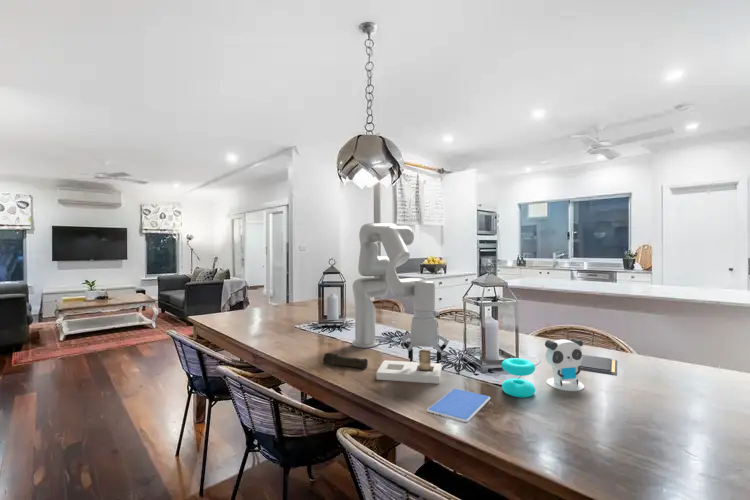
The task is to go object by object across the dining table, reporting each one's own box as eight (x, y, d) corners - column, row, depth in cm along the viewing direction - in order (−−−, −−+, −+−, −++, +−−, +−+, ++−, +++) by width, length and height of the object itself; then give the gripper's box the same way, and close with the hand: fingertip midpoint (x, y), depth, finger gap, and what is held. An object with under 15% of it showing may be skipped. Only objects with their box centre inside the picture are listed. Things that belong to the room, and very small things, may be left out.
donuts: (502, 355, 128) (534, 358, 124) (502, 385, 128) (534, 388, 125) (501, 364, 119) (535, 368, 115) (501, 396, 119) (536, 400, 115)
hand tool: (368, 367, 148) (368, 355, 148) (364, 370, 145) (363, 358, 145) (327, 362, 156) (326, 350, 156) (321, 364, 153) (321, 353, 153)
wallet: (576, 352, 160) (619, 358, 152) (576, 356, 160) (619, 362, 152) (569, 365, 144) (616, 372, 135) (569, 370, 144) (616, 377, 135)
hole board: (384, 366, 149) (384, 360, 148) (441, 370, 144) (441, 363, 144) (376, 379, 135) (376, 372, 135) (439, 383, 130) (439, 376, 130)
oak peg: (419, 373, 140) (419, 349, 140) (431, 374, 140) (430, 349, 139) (418, 377, 136) (418, 352, 136) (430, 378, 136) (430, 352, 135)
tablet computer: (467, 425, 102) (467, 420, 102) (425, 413, 109) (425, 409, 109) (491, 400, 117) (491, 396, 117) (453, 391, 125) (453, 387, 125)
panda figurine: (558, 392, 121) (558, 345, 121) (537, 379, 133) (537, 336, 132) (592, 389, 123) (592, 343, 123) (569, 377, 134) (569, 335, 134)
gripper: (449, 313, 139) (449, 359, 140) (402, 311, 143) (402, 357, 144) (448, 317, 132) (448, 366, 133) (399, 315, 136) (399, 363, 136)
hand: (424, 361), depth 138 cm, fingers open, 9 cm apart
